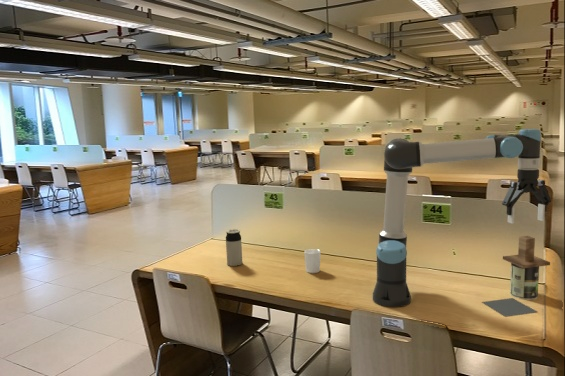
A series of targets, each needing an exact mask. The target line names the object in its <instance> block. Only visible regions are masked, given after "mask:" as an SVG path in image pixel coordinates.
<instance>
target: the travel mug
mask: <svg viewBox="0 0 565 376" xmlns="http://www.w3.org/2000/svg"><path fill="white" fill-rule="evenodd" d="M225 233H226V236H225V247H226V249H225V250H226V265H227V266H230V267H237V265H239V266H241V265H243V246H242V235H241V234H240V233H241V230H240V229H239V228H232V229H226V230H225Z"/></svg>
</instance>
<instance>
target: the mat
mask: <svg viewBox="0 0 565 376" xmlns="http://www.w3.org/2000/svg"><path fill="white" fill-rule="evenodd" d="M481 303H482V304H484V306H487V308H488V307H489V308H490V309H492V310H493V311H495V312H496V313H498V314H500V315H501V316H503V317H505V318H507V317H513V316H514V317H515V316H523V315H527V314H536V313H538V311H537V310H535V309H534V308H531V307H530V306H528V305H527V304H525V303H522V302H520V301H519V300H517V299H515V298H514V297H511V298H510V297H508V298H502V299H494V300H487V301H481Z"/></svg>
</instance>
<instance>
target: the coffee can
mask: <svg viewBox="0 0 565 376" xmlns="http://www.w3.org/2000/svg"><path fill="white" fill-rule="evenodd" d="M510 264H511V266H510V283H509V285H510V289H509V294H510V295H511V296H512V297H513V298H516V299H521V300H527V301H529V300H532V301H533V300H536V299H537V298H538V297H539V279H540V278H539V277H540V266H538V267H530V268H522V267H519V266H517V265H515V264H513V263H510Z"/></svg>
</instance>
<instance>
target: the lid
mask: <svg viewBox="0 0 565 376" xmlns="http://www.w3.org/2000/svg"><path fill="white" fill-rule="evenodd" d="M535 241H536V239H535V237H532V236H529V235H523V236H518V252H517V254H511V255H502V260H504V261H506V262H508V263H510V264H511V263H513V264H515V265H517V266H519V267H522V268H530V267H538V266H539V267H546V266H551V262H550V261H548V260H546V259H543V258H540V257H538V256H536V255H535V243H536V242H535Z"/></svg>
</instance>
